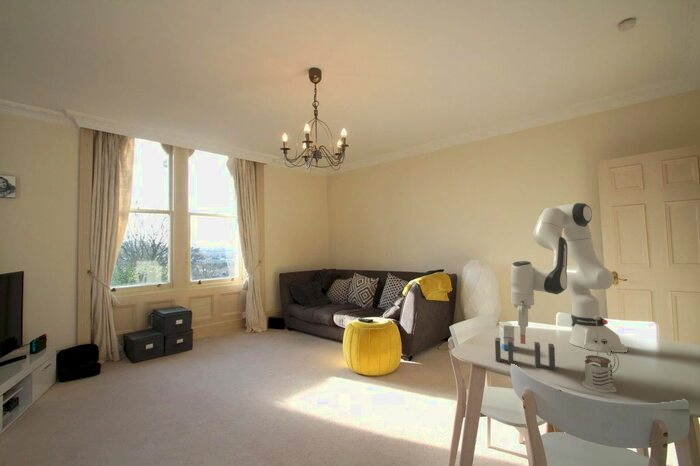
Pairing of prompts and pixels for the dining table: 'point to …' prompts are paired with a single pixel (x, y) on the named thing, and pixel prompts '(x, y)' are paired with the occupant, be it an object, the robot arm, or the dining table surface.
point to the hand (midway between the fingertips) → (522, 332)
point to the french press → (599, 368)
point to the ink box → (506, 334)
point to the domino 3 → (522, 338)
